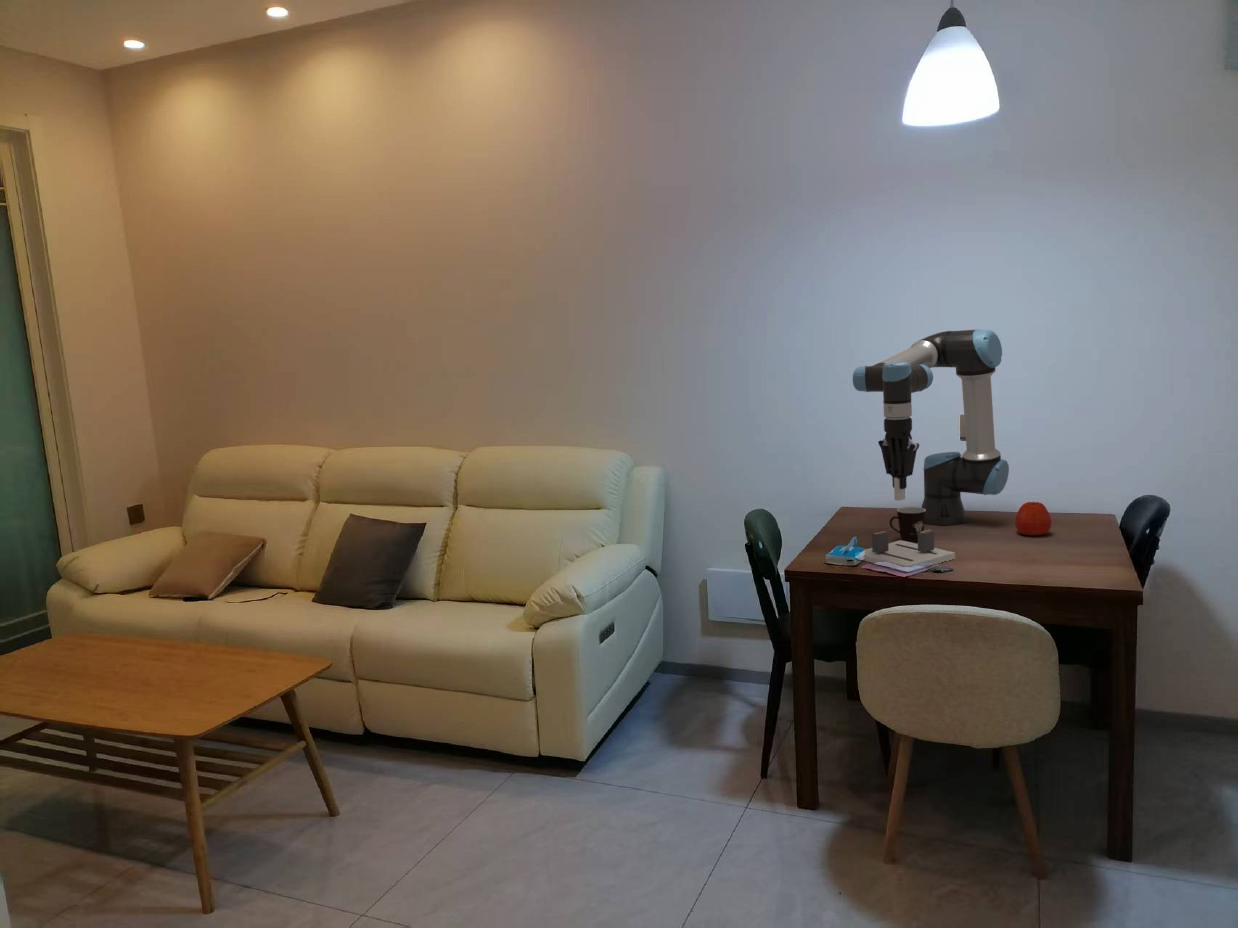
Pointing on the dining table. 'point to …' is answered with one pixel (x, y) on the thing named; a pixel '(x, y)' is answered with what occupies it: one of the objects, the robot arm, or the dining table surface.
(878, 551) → the block
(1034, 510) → the apple
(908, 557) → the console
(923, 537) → the block
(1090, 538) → the dining table surface
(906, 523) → the coffee mug
